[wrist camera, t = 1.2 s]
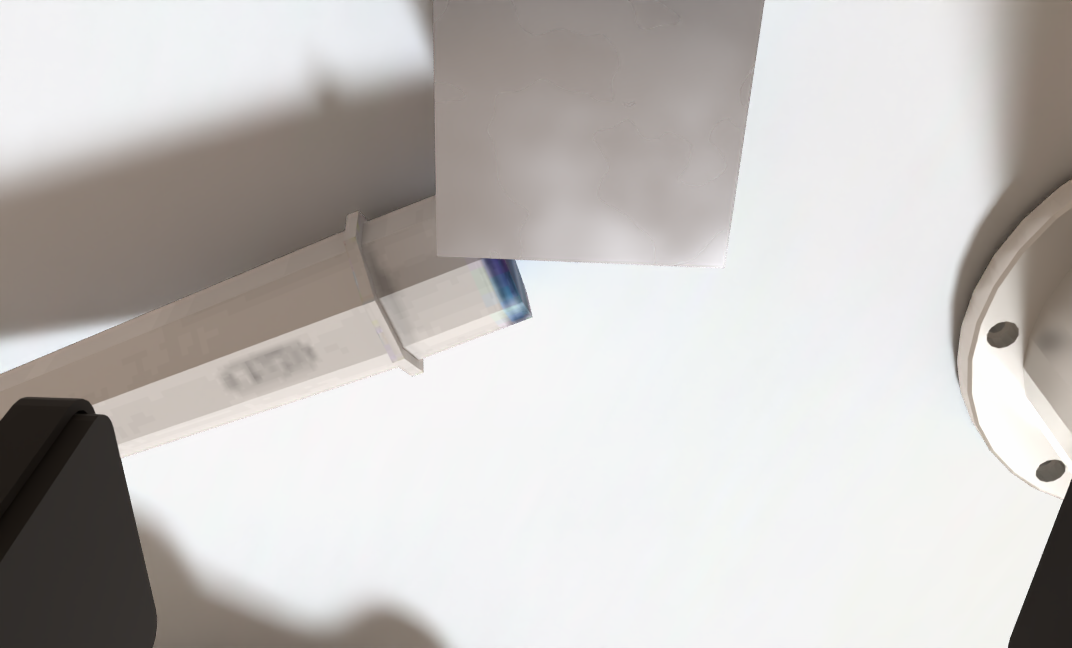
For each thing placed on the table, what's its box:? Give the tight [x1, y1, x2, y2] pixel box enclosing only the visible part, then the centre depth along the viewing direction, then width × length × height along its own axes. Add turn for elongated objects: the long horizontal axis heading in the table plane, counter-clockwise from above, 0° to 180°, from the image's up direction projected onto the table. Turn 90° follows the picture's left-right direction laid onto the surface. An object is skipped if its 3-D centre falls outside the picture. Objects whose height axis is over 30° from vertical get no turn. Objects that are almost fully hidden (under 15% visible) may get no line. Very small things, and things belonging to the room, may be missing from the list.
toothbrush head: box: [0, 195, 532, 458], centre depth 29 cm, size 5×7×25 cm
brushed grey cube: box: [433, 0, 765, 268], centre depth 22 cm, size 6×6×7 cm
